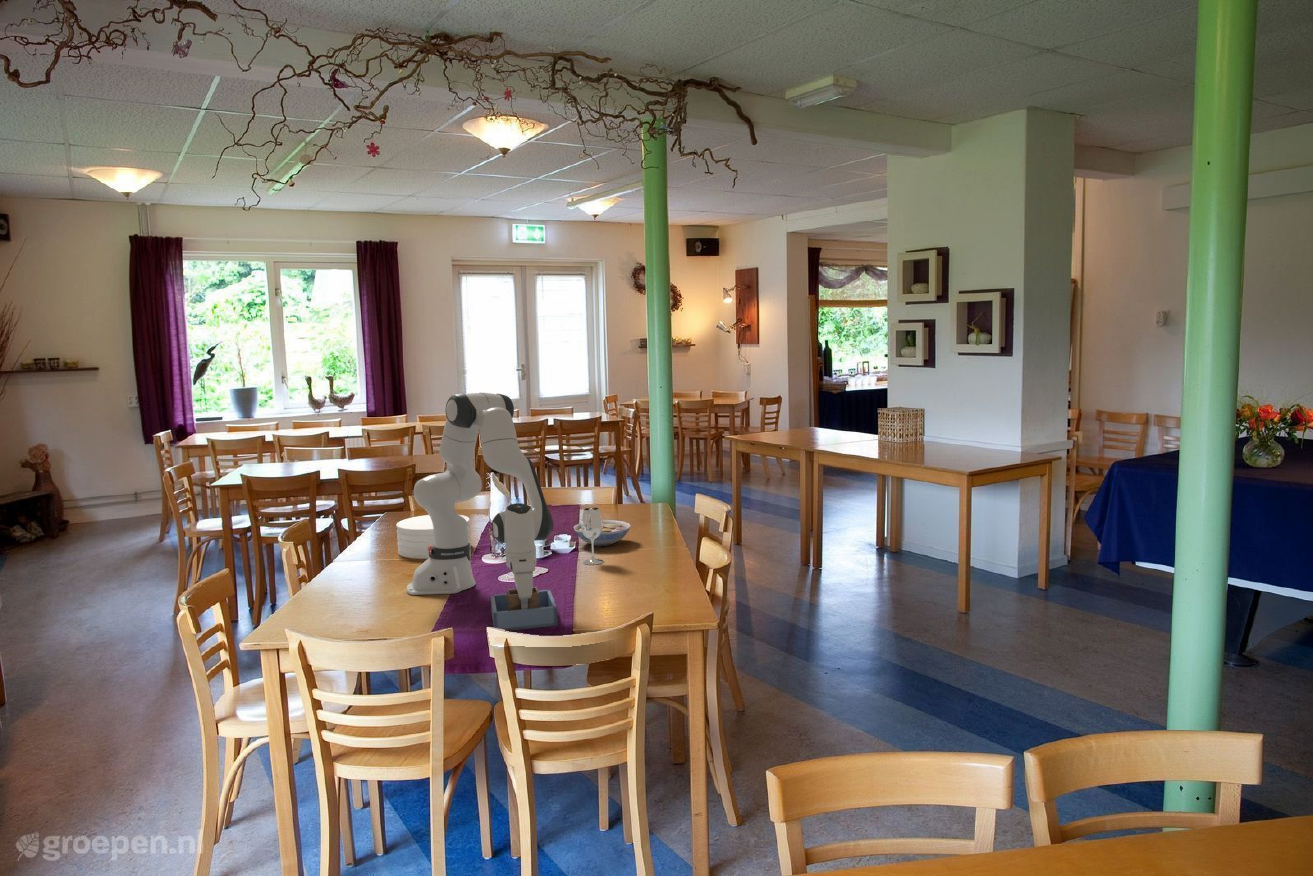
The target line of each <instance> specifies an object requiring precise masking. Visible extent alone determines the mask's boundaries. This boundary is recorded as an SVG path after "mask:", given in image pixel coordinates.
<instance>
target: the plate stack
mask: <svg viewBox="0 0 1313 876" xmlns="http://www.w3.org/2000/svg"><path fill="white" fill-rule="evenodd" d="M458 515H459V516H461V517H463V518H464V519H465V520H466V521H467V526H468V543H469V544H470V549H471V548H472V545H471V531H470V529H471V528H470V527H471V526H470V517H468V516H466V515H463V514H458ZM395 526H396V529H397V530H396V535H397V539H396V540H397V548H398V549H397V554H398V555H400V556H401V557H404V558H410V559H428V558H429V551H428V547H429V545H433V546H434V545H435V541H434V530H433V524H432V520H431V518H430V516H429V514H426V515H425V514H424V515H418V516H414V517H409V518H408V517H407V518H405V519H403V520H400V521H398V522H397V523H396V525H395Z"/></svg>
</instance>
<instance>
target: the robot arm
mask: <svg viewBox="0 0 1313 876" xmlns="http://www.w3.org/2000/svg"><path fill="white" fill-rule="evenodd" d="M514 414H515V406H514V403H513V401H512V399H511V398H510V397H509V396H508V395H506V394H501V393H491V392H475V393H473V392H471V393H463V392H462V393H461V392H460V393H456V394H453V395H450V397H449V398H448V399H447V402H446V405H445V416H446V420H445V423H444V427H443V431H442V437H441V441H440V446H439V448H438V449H439V450H438V452H439V457H440V459H442V461H444V463H446V470H445V471H444V472H439V473H434V474H430V475H427V476H424V477H423V478H421V479H419V480H416V482H415V484H414V486H413V487H414V488H413V498H414V500H415V502H416V503H417V505H418V506H420V507H421V508H422V509H424V510H425V511H426V512H427V515H429V516H430V518H431V520H432V524H433V530H434V541H435V545H434V546H433V545H429V547H428V551H429V558H426V560H425V561H424V562H423V563H420V565H419V566H417V568H416V569H415V571H414V573H413V577H412V581H411V582H410V583H408V584H407V586H406V593H407V594H409V595H411V596H416V595H417V596H419V595H447V594H449V595H450V594H457V593H460V592H461V591H464V590H467V589H471V588H472V587H474V586H475V585H476V581H475V577H474V575H473V570H472V565H471V558H472V557H471V556H472V554H471V553H472V552H471V548H470V544H469V543H468V526H467V521H466V520H465V519H464V518H463V517H461V516H459V515H460V514H458V513H457V509H456V506H455V505H456V504H458V503H462V502H468V501H469V500H472V499H474V498H475V497H476V496H478V495H479V494H480V493H481V491H482V488H483V482H482V478H481V476H480V475H479V473H478V472H477V471H476V470H475V467H474V455H475V450H476V449H475V448H476V445H477V440H478V436H479V435H480V446H481V447H480V448H481V453H482V457H483V460H484V463H485V464H486V465H487V466H488V467H489V468H491V469H492V470H494V471H496V472H498V473H501V474H504V475H509V476H511V477H515V478H516V479H519V480H520V481H521V483H523V486H524V488H525V491H526V495H527V498H528V502H529V504H526V503H522V502H521V503H519V502H516V503H511V504H509V505H507V506H506V507H505V510H504V511H501V512H499V513H496V515H495V516H494V517H493V519H492V520H491V530H492V531H491V532H492V538H494V539H495V540H496V541H497V542H498V543H500V544H506V547H505V564H506V567H507V568H509V570H510V572H512V574H513V581H514V585H515V587H516V588H515V589H517V592H518V596H519V599H521V608H522V609H527V608H528V598H531V596H532V587H534V586H533V585H534V582H533V581H534V572H535V571H536V565H537V563H538V562H537V548H536V547H537V546H536V543H535V541H545V540H547V539H548V537H550V535H552V534H553V531H554V527H555V526H554V519H553V516H552V514H551V511H550V509H549V507H548V504H547V502H546V499H545V495H544V493H543V489H542V486H541V484H540V480H539V477H538V475H537V474H538V473H537V471H536V468H535V466H534V464H533V462H532V460H531V458H530V457H528V456H526V455H524V452H522V450H521V448H520V446H519V443H518V436H517V432H516V431H517V430H516V428H515V424H514V421H513V420H514V419H513V417H514Z"/></svg>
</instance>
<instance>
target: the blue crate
mask: <svg viewBox="0 0 1313 876" xmlns="http://www.w3.org/2000/svg"><path fill="white" fill-rule="evenodd" d="M538 591H539V603H540V608H532V609H522V610H512V611H508V606H507V593H499V594H498V593H497V594H490V609H491V618H492V625H493V628H494V627H498V628H502V629H506V630H510V631H518V630H529V629H537V628H538V629H539V628H546V627H558V625H559V624H558V606H557V604H556V601H555V599H554V596H553V594H552V591H551V589H544V590H543V589H542V590H538Z"/></svg>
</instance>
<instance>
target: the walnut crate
mask: <svg viewBox="0 0 1313 876" xmlns="http://www.w3.org/2000/svg"><path fill="white" fill-rule="evenodd" d="M539 591H540V590H539V589H538V587H537V586H533V587H532V596H531V598H528V608H527V609H532V608H540V603H539ZM506 594H507V606H508V611H512V610H522V608H521V599H519V596H518V592H517V588H512V589H506Z"/></svg>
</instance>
